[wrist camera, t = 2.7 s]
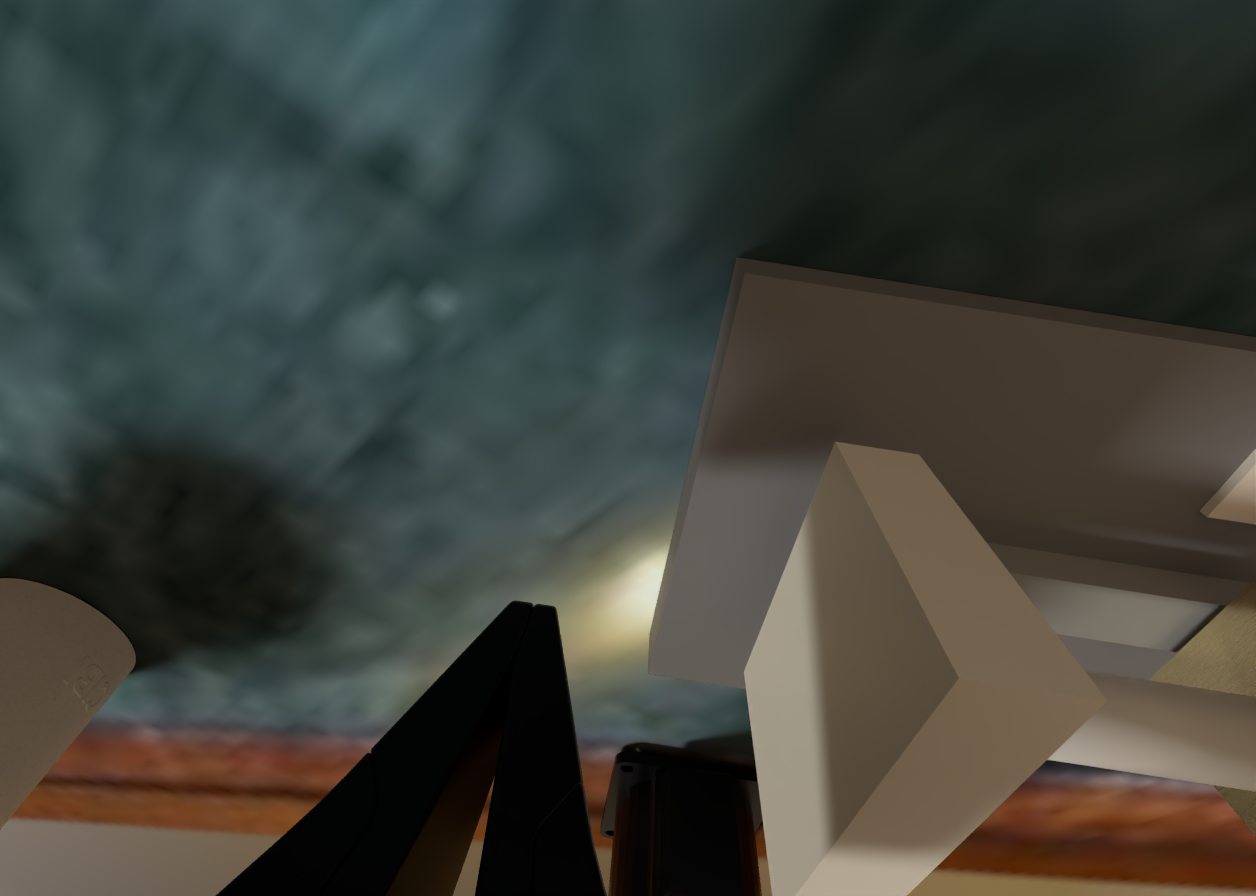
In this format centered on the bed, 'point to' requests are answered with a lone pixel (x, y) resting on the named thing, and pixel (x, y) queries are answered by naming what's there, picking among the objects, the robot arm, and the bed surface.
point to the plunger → (933, 690)
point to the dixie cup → (50, 679)
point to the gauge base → (970, 458)
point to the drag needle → (1222, 671)
